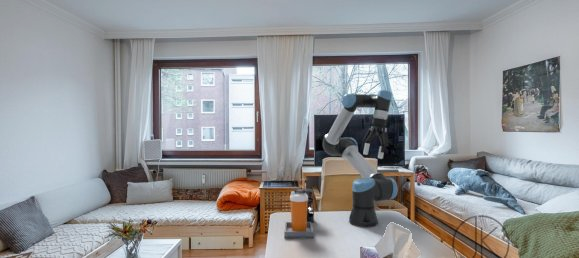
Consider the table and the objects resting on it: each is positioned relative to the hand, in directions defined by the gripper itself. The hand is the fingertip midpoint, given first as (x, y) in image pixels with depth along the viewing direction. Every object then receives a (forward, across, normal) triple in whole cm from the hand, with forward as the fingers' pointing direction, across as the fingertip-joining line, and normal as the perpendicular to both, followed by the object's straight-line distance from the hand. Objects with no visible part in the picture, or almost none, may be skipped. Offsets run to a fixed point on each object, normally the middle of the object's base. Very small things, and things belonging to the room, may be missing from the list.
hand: (372, 156), depth 164 cm
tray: (+43, -6, +38) cm, 58 cm away
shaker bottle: (+42, -6, +38) cm, 57 cm away
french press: (+42, +10, +28) cm, 51 cm away
